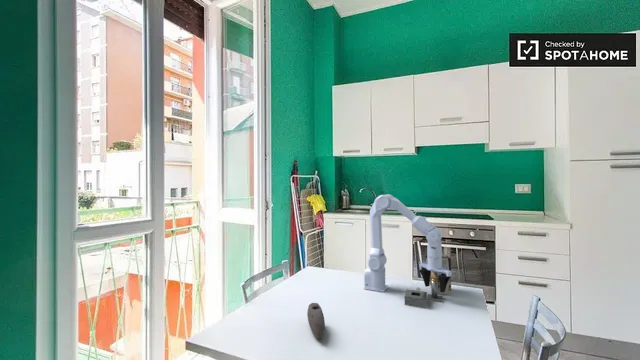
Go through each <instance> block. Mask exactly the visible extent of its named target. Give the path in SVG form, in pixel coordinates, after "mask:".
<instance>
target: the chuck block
mask: <svg viewBox="0 0 640 360" xmlns="http://www.w3.org/2000/svg"><path fill="white" fill-rule="evenodd" d="M427 296H428V293H427V291H423V290H422V291H421V288H420V287H418V286H417V287H416V288H415V289H414V290H413V289H406V291H405V294H404V306H409V307H417V308H423V309H426V308H427V302H428V300H427Z"/></svg>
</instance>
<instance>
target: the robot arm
mask: <svg viewBox="0 0 640 360" xmlns="http://www.w3.org/2000/svg"><path fill="white" fill-rule="evenodd" d="M388 209H389V210H394V211H397V212H399V213H401V215H403V217H406V219H408V220H409V221H410V222H411V225H412V227H413V228H415V229H416V230H417V232H420V233H421V234H422V235H423V236H425V238H426V240H427V247H426V250H427V255H426V256H427V263H424V262H421V263H419V268H420V269H419V273H420V275H421V277H422V279H423V282H424V286H425V287H430V274H431V271H433V272H437V273H440V274H441V275H438V278H439V282H440V292H445V289H446V286H447V283H448V281H449V279H450V278H451V279H452V276H453V275H452V270H451V271H449V270H447V269H445V268H443V267H442V253H443V250H442V249H443V247H442V245H443V244H442V238H443V232H442V231H441V229H440V228H439V227H436V225H435V224H432V223H430V221H428V220H427V217H426V216H422V215H417V214H415V213H414V212H413V211H411V210H410V209H409V208H408V206H406V205H405V203H403V202H401V201H400V200H399V199H398V198H397V197H394V196H393V195H392V194H389V193H387V194H380V195H378V196H377V197H376V198H374V202H373V204H372V205H371V208H370V209H369V224H370V225H369V227H370V245H371V246H370V247H371V248H370V251H369V254H368V255H369V258H368V260H367V265H368V267H366V268H365V269H364V273H363V274H364V276H363V277H364V279H363V280H364V281H363V282H364V283H363V285H364V286H363V287H364V288H363V289H364V290H369V291H375V292H383V293H385V292H386V291H387V288H388V285H387V284H386V267H385V265H386V263H387V259H388V258H387V256H386V254H385V250H384V248H383V231H382V227H383V226H382V215H383V213H384V212H385V211H386V210H388Z"/></svg>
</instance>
